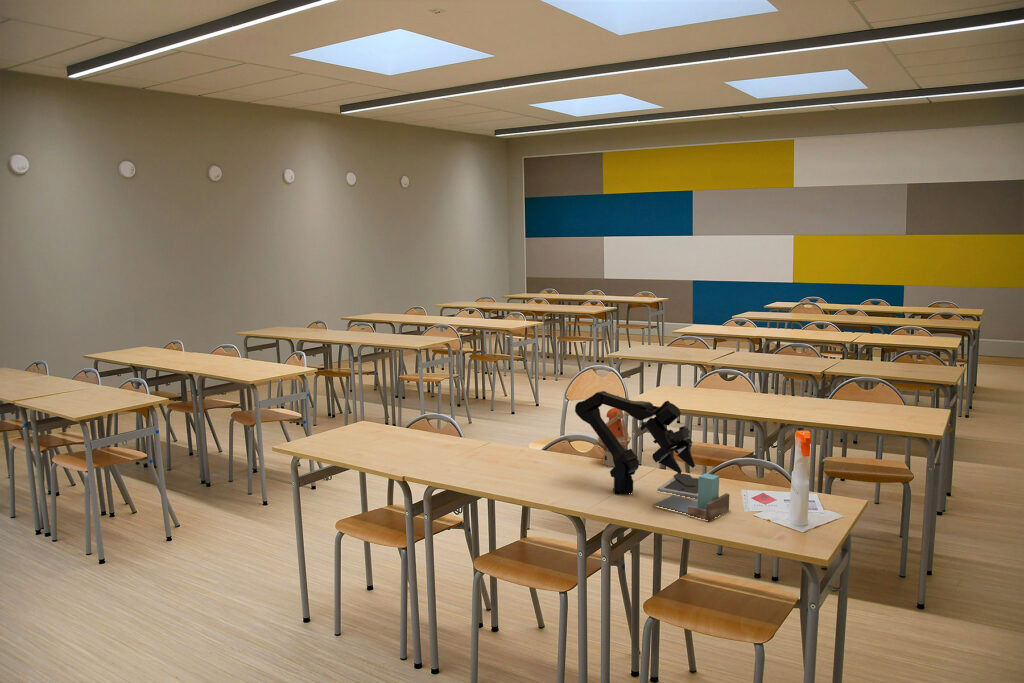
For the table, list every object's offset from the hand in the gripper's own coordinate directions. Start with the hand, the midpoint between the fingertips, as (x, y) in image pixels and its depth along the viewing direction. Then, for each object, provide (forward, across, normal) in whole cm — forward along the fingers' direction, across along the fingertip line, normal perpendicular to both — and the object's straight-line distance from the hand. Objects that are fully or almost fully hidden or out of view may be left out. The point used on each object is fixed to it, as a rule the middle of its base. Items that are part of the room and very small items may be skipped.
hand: (687, 469), depth 266 cm
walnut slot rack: (+15, 0, +4) cm, 16 cm away
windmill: (-24, +27, +44) cm, 57 cm away
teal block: (+15, 0, +4) cm, 16 cm away
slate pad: (+8, 0, +11) cm, 14 cm away
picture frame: (+3, +20, +17) cm, 26 cm away
